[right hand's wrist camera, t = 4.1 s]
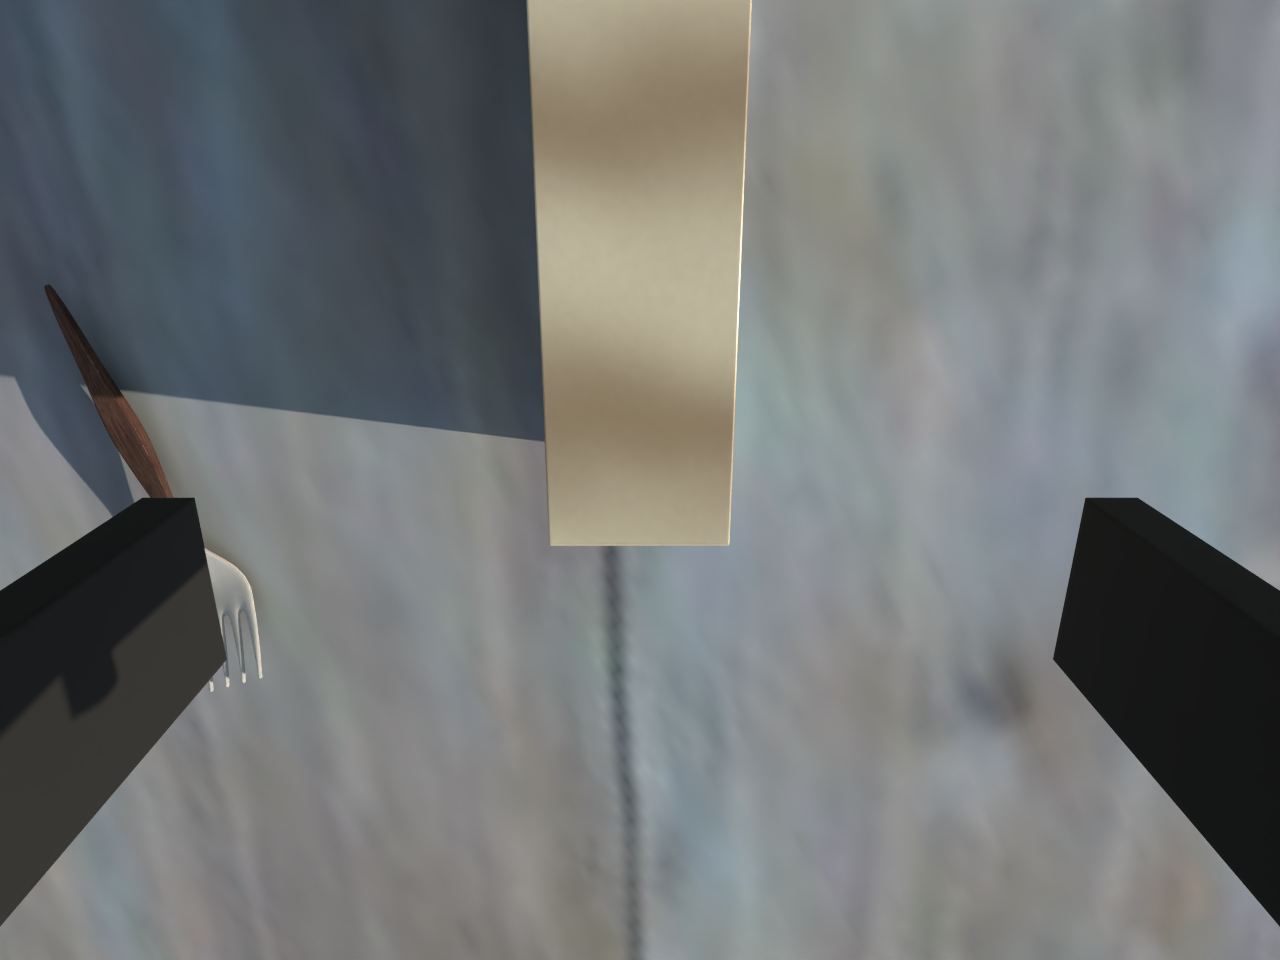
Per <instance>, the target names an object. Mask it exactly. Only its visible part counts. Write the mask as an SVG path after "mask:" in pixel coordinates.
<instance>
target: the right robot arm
mask: <svg viewBox="0 0 1280 960" xmlns="http://www.w3.org/2000/svg"><path fill="white" fill-rule="evenodd" d="M226 660H227V657H226V652H225V647H224V642H223V637H222V632H221V627H220V622H219V617H218V612H217V607H216V602H215V598H214V593H213V588H212V583H211V578H210V573H209V568H208V563H207V558H206V553H205V548H204V543H203V538H202V533H201V528H200V523H199V518H198V513H197V508H196V503H195V498H141V499H140V500H138V501H137V502H135V503H134V504H132V505H131V506H129V507H128V508H126V509H125V510H123V511H122V512H120V513H118V514H117V515H115V516H114V517H112V518H111V519H109V520H108V521H106V522H105V523H103V524H102V525H100V526H99V527H97V528H96V529H94V530H92V531H91V532H89V533H88V534H86V535H85V536H83V537H82V538H80V539H79V540H77V541H76V542H74V543H73V544H71V545H70V546H68V547H66V548H65V549H63V550H62V551H60V552H59V553H57V554H56V555H54V556H53V557H51V558H50V559H48V560H47V561H45V562H44V563H42V564H41V565H39V566H37V567H36V568H34V569H33V570H31V571H30V572H28V573H27V574H25V575H24V576H22V577H21V578H19V579H18V580H16V581H15V582H13V583H11V584H10V585H8V586H7V587H5V588H4V589H2V590H1V591H0V926H1V925H2V924H3V923H4V921H5V920H6V919H7V918H8V917H9V915H10V914H11V913H12V912H13V911H14V910H15V908H16V907H17V906H18V905H19V904H20V903H21V901H22V900H23V899H24V898H25V897H26V895H27V894H28V893H29V892H30V891H31V890H32V888H33V887H34V886H35V885H36V884H37V882H38V881H39V880H40V879H41V878H42V877H43V875H44V874H45V873H46V872H47V871H48V870H49V868H50V867H51V866H52V865H53V864H54V862H55V861H56V860H57V859H58V858H59V857H60V855H61V854H62V853H63V852H64V851H65V849H66V848H67V847H68V846H69V845H70V844H71V842H72V841H73V840H74V839H75V838H76V837H77V835H78V834H79V833H80V832H81V831H82V829H83V828H84V827H85V826H86V825H87V824H88V822H89V821H90V820H91V819H92V818H93V816H94V815H95V814H96V813H97V812H98V811H99V809H100V808H101V807H102V806H103V805H104V804H105V802H106V801H107V800H108V799H109V798H110V796H111V795H112V794H113V793H114V792H115V791H116V789H117V788H118V787H119V786H120V785H121V783H122V782H123V781H124V780H125V779H126V778H127V776H128V775H129V774H130V773H131V772H132V771H133V769H134V768H135V767H136V766H137V765H138V763H139V762H140V761H141V760H142V759H143V758H144V756H145V755H146V754H147V753H148V752H149V750H150V749H151V748H152V747H153V746H154V745H155V743H156V742H157V741H158V740H159V739H160V738H161V736H162V735H163V734H164V733H165V732H166V730H167V729H168V728H169V727H170V726H171V725H172V723H173V722H174V721H175V720H176V719H177V717H178V716H179V715H180V714H181V713H182V712H183V710H184V709H185V708H186V707H187V706H188V705H189V703H190V702H191V701H192V700H193V699H194V697H195V696H196V695H197V694H198V693H199V692H200V690H201V689H202V688H203V687H204V686H205V684H206V683H207V682H208V681H209V680H210V679H211V677H212V676H213V675H214V674H215V673H216V672H217V670H218V669H219V668H220V667H221V666H222V664H223V663H224V662H225V661H226ZM1053 660H1054V661H1055V662H1056V663H1057V664H1058V666H1059V667H1060V668H1061V669H1062V670H1063V672H1064V673H1065V674H1066V675H1067V676H1068V677H1069V679H1070V680H1071V681H1072V682H1073V683H1074V684H1075V686H1076V687H1077V688H1078V689H1079V690H1080V692H1081V693H1082V694H1083V695H1084V696H1085V697H1086V699H1087V700H1088V701H1089V702H1090V703H1091V705H1092V706H1093V707H1094V708H1095V709H1096V710H1097V712H1098V713H1099V714H1100V715H1101V716H1102V717H1103V719H1104V720H1105V721H1106V722H1107V723H1108V725H1109V726H1110V727H1111V728H1112V729H1113V730H1114V732H1115V733H1116V734H1117V735H1118V736H1119V738H1120V739H1121V740H1122V741H1123V742H1124V743H1125V745H1126V746H1127V747H1128V748H1129V749H1130V750H1131V752H1132V753H1133V754H1134V755H1135V756H1136V758H1137V759H1138V760H1139V761H1140V762H1141V763H1142V765H1143V766H1144V767H1145V768H1146V769H1147V771H1148V772H1149V773H1150V774H1151V775H1152V776H1153V778H1154V779H1155V780H1156V781H1157V782H1158V783H1159V785H1160V786H1161V787H1162V788H1163V789H1164V791H1165V792H1166V793H1167V794H1168V795H1169V796H1170V798H1171V799H1172V800H1173V801H1174V802H1175V804H1176V805H1177V806H1178V807H1179V808H1180V809H1181V811H1182V812H1183V813H1184V814H1185V815H1186V816H1187V818H1188V819H1189V820H1190V821H1191V822H1192V824H1193V825H1194V826H1195V827H1196V828H1197V829H1198V831H1199V832H1200V833H1201V834H1202V835H1203V837H1204V838H1205V839H1206V840H1207V841H1208V842H1209V844H1210V845H1211V846H1212V847H1213V848H1214V849H1215V851H1216V852H1217V853H1218V854H1219V855H1220V857H1221V858H1222V859H1223V860H1224V861H1225V862H1226V864H1227V865H1228V866H1229V867H1230V868H1231V870H1232V871H1233V872H1234V873H1235V874H1236V875H1237V877H1238V878H1239V879H1240V880H1241V881H1242V882H1243V884H1244V885H1245V886H1246V887H1247V888H1248V890H1249V891H1250V892H1251V893H1252V894H1253V895H1254V897H1255V898H1256V899H1257V900H1258V901H1259V903H1260V904H1261V905H1262V906H1263V907H1264V908H1265V910H1266V911H1267V912H1268V913H1269V914H1270V915H1271V917H1272V918H1273V919H1274V920H1275V921H1276V923H1277V924H1278V925H1279V926H1280V591H1279V590H1278V589H1276V588H1275V587H1273V586H1272V585H1270V584H1269V583H1267V582H1265V581H1264V580H1262V579H1261V578H1259V577H1258V576H1256V575H1255V574H1253V573H1252V572H1250V571H1249V570H1247V569H1246V568H1244V567H1243V566H1241V565H1239V564H1238V563H1236V562H1235V561H1233V560H1232V559H1230V558H1229V557H1227V556H1226V555H1224V554H1223V553H1221V552H1220V551H1218V550H1217V549H1215V548H1213V547H1212V546H1210V545H1209V544H1207V543H1206V542H1204V541H1203V540H1201V539H1200V538H1198V537H1197V536H1195V535H1194V534H1192V533H1191V532H1189V531H1188V530H1186V529H1184V528H1183V527H1181V526H1180V525H1178V524H1177V523H1175V522H1174V521H1172V520H1171V519H1169V518H1168V517H1166V516H1165V515H1163V514H1162V513H1160V512H1158V511H1157V510H1155V509H1154V508H1152V507H1151V506H1149V505H1148V504H1146V503H1145V502H1143V501H1142V500H1140V499H1139V498H1085V503H1084V508H1083V513H1082V518H1081V523H1080V528H1079V533H1078V538H1077V543H1076V548H1075V553H1074V558H1073V563H1072V568H1071V573H1070V578H1069V583H1068V588H1067V593H1066V598H1065V602H1064V607H1063V612H1062V617H1061V622H1060V627H1059V632H1058V637H1057V642H1056V647H1055V652H1054V657H1053Z"/></svg>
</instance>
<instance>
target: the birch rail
mask: <svg viewBox="0 0 1280 960" xmlns="http://www.w3.org/2000/svg"><path fill="white" fill-rule="evenodd" d="M526 5H527V29H528V53H529V77H530V100H531V124H532V148H533V172H534V196H535V220H536V243H537V267H538V291H539V315H540V339H541V362H542V386H543V410H544V434H545V458H546V482H547V505H548V529H549V545H550V546H728V545H729V540H730V516H731V492H732V468H733V443H734V419H735V395H736V371H737V346H738V322H739V298H740V274H741V250H742V225H743V201H744V177H745V153H746V128H747V104H748V80H749V56H750V31H751V7H752V0H526Z"/></svg>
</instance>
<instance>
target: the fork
mask: <svg viewBox="0 0 1280 960" xmlns="http://www.w3.org/2000/svg"><path fill="white" fill-rule="evenodd" d="M45 291H46V294H47V297H48V299H49V302H50V304H51V307H52V309H53V312H54V314H55V316H56V319H57V321H58V323H59V325H60V328H61V330H62V332H63V334H64V337H65V339H66V341H67V343H68V345H69V347H70V350H71V352H72V354H73V356H74V358H75V360H76V363H77V365H78V367H79V369H80V371H81V374H82V376H83V378H84V380H85V383H86V385H87V387H88V390H89V392H90V394H91V397H92V399H93V401H94V403H95V406H96V408H97V410H98V413H99V415H100V417H101V419H102V421H103V424H104V426H105V428H106V430H107V432H108V434H109V436H110V437H111V439H112V441H113V443H114V444H115V446H116V448H117V449H118V451H119V452H120V454H121V455H122V457H123V458H124V460H125V461H126V463H127V464H128V466H129V467H130V469H131V470H132V472H133V473H134V475H135V476H136V477H137V479H138V480H139V482H140V483H141V485H142V486H143V487H144V489H145V490H146V492H147V493H148V494H149V496H150V497H151V498H173V495H172V493H171V490H170V488H169V485H168V483H167V480H166V478H165V475H164V472H163V470H162V467H161V465H160V462H159V460H158V458H157V455H156V453H155V450H154V448H153V446H152V444H151V442H150V439H149V437H148V435H147V433H146V431H145V430H144V428H143V426H142V424H141V423H140V421H139V419H138V417H137V416H136V414H135V413H134V411H133V410H132V408H131V407H130V405H129V404H128V402H127V401H126V399H125V398H124V396H123V395H122V393H121V392H120V390H119V389H118V387H117V386H116V384H115V383H114V381H113V380H112V378H111V377H110V375H109V374H108V372H107V371H106V369H105V368H104V366H103V365H102V363H101V362H100V360H99V358H98V357H97V355H96V354H95V352H94V350H93V349H92V347H91V346H90V344H89V342H88V341H87V339H86V337H85V336H84V334H83V333H82V331H81V329H80V328H79V326H78V325H77V323H76V321H75V320H74V318H73V317H72V315H71V314H70V312H69V311H68V309H67V308H66V306H65V305H64V303H63V302H62V300H61V299H60V297H59V296H58V294H57V293H56V292H55V290H54V289H53V288H52V287H51V286H50V285H46V286H45ZM205 553H206V558H207V563H208V568H209V573H210V578H211V583H212V588H213V593H214V598H215V602H216V607H217V612H218V617H219V622H220V627H221V632H222V637H223V642H224V647H225V652H226V657H227V647H226V638H225V629H224V616H225V615H228V616H229V618H230V621H231V624H232V628H233V633H234V638H235V643H236V648H237V653H238V658H239V664H240V670H241V676H242V682H243V683H245V681H246V678H245V664H244V652H243V642H242V633H241V624H240V612H241V610H244V612H245V613H246V616H247V619H248V623H249V628H250V633H251V637H252V642H253V647H254V653H255V658H256V663H257V670H258V678H262V668H261V656H260V645H259V635H258V627H257V620H256V613H255V606H254V600H253V595H252V590H251V587H250V584H249V582H248V580H247V579H246V577H245V576H244V574H243V573H242V572H241V571H240V570H239V569H238V568H237V567H235V566H234V565H233V564H231V563H230V562H228V561H227V560H225V559H223V558H222V557H220V556H218V555H216V554H214V553H213V552H211V551H209V550H207V549H205ZM223 670H224V676H225V683H226V687H229V670H228V658H227V660H226V661H225V662H224V663H223ZM208 682H209V691H210V692H212V691H213V676H212V677H211V679H210V680H209V681H208Z"/></svg>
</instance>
